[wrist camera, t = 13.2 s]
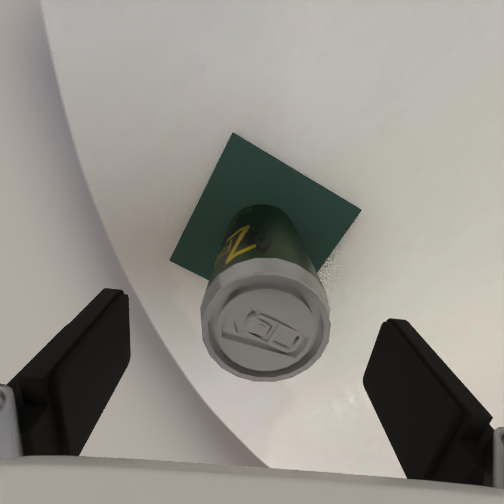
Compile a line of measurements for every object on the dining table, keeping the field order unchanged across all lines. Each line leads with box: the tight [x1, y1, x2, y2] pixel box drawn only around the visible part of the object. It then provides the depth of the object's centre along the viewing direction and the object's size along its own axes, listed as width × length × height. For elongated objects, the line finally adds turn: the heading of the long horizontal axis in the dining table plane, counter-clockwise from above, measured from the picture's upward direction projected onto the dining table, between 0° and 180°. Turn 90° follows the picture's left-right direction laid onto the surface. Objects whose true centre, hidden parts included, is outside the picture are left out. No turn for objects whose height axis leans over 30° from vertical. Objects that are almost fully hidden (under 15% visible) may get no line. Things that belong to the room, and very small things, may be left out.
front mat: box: [170, 133, 361, 280], centre depth 22 cm, size 11×11×1 cm
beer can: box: [200, 204, 331, 382], centre depth 16 cm, size 5×5×12 cm
